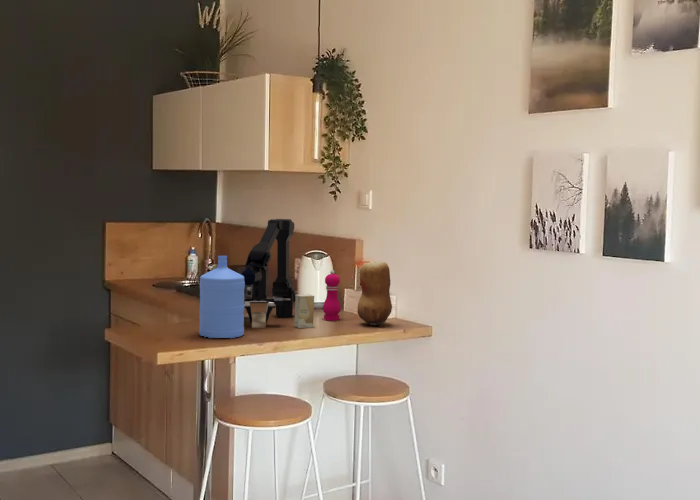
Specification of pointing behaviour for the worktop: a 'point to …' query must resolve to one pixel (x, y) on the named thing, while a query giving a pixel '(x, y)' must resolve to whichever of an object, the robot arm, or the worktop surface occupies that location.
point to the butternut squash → (375, 293)
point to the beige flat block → (246, 319)
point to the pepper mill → (331, 298)
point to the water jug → (222, 302)
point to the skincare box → (304, 311)
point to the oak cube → (258, 320)
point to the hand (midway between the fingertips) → (258, 323)
